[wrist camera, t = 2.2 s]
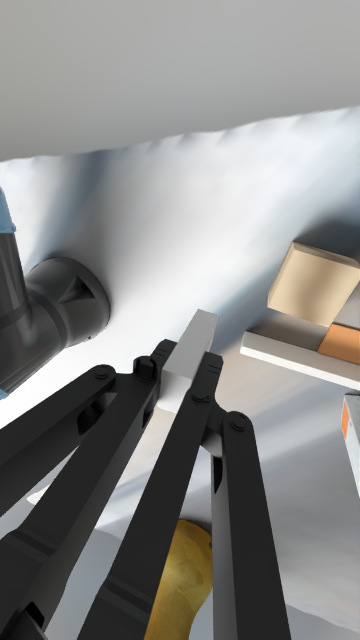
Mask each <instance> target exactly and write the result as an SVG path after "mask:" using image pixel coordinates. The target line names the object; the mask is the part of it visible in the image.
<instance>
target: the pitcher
mask: <svg viewBox="0 0 360 640" xmlns="http://www.w3.org/2000/svg"><path fill="white" fill-rule="evenodd" d="M211 541H212V536H211V535H210V534H209V533H208V532H207V531H205V530H204V529H202V528H201V527H200V526H198V525H196V524H194V523H191V522H188V521H187V520H183V519H181V520H178V522H177V526H176V529H175V533H174V536H173V540H172V543H171V547H170V550H169V553H168V557H167V560H166V564H165V567H164V571H163V574H162V578H161V581H160V584H159V588H158V591H157V595H156V598H155V602H154V605H153V609H152V613H151V616H150V620H149V624H148V627H147V631H146V634H145V638H144V640H189V634H190V630H191V626H192V623H193V620H194V618H195V616H196V614H197V612H198V610H199V609H200V607H201V606H202V605H203V603H204V602H205V600H206V599H207V597H208V595H209V594H210V592H211V590H212V587H213V564H212V550H211V548H210V546H209V543H211Z"/></svg>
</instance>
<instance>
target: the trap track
mask: <svg viewBox="0 0 360 640" xmlns="http://www.w3.org/2000/svg"><path fill="white" fill-rule="evenodd" d="M240 353H241V354H244V355H248V356H251V357H254V358H257V359H260V360H264V361H267V362H270V363H273V364H276V365H280V366H283V367H286V368H289V369H292V370H296V371H299V372H302V373H305V374H308V375H312V376H315V377H318V378H321V379H324V380H328V381H331V382H334V383H337V384H340V385H344V386H347V387H350V388H353V389H356V390H360V365H359V364H356V363H352V362H349V361H346V360H342V359H339V358H335V357H332V356H329V355H325V354H322V353H318V352H315V351H312V350H308V349H305V348H301V347H298V346H295V345H291V344H288V343H284V342H281V341H277V340H274V339H271V338H267V337H264V336H260V335H257V334H254V333H250V332H247V331H245V333H244V336H243V339H242V344H241V349H240Z"/></svg>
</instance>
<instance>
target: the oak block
mask: <svg viewBox="0 0 360 640" xmlns="http://www.w3.org/2000/svg"><path fill="white" fill-rule="evenodd" d="M359 281H360V264H359V263H358V262H357V261H356V260H355V259H353V258H349V257H346V256H342V255H339V254H336V253H332V252H329V251H325V250H322V249H318V248H315V247H312V246H308V245H305V244H301V243H298V242H294V241H292V243H291V245H290V247H289V249H288V251H287V254H286V256H285V258H284V260H283V262H282V264H281V267H280V269H279V271H278V273H277V275H276V278H275V280H274V282H273V284H272V286H271V288H270V291H269V293H268V306H267V307H269V308H272V309H275V310H278V311H280V312H283V313H286V314H289V315H292V316H295V317H298V318H301V319H304V320H307V321H310V322H313V323H316V324H319V325H322V326H325V327H327V328H328V327H329V326H330V324H331V323H332V321H333V320H334V318H335V317H336V315H337V314H338V312H339V311H340V309H341V308H342V306H343V305H344V303H345V302H346V300H347V299H348V297H349V296H350V294H351V293H352V291H353V290H354V288H355V287H356V285H357V284H358V282H359Z"/></svg>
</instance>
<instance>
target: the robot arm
mask: <svg viewBox="0 0 360 640" xmlns="http://www.w3.org/2000/svg"><path fill="white" fill-rule="evenodd" d="M15 231H16V227H15V225H14V224H13V222H12V220H11V216H10V213H9V209H8V205H7V201H6V198H5V194H4V192H3V190H2V188H1V187H0V400H1V399H5V398H7V397H8V395H9V394H10V393H12V392H13V391H14V390H15V389H16V388H18V387H19V386H20V385H21V384H22V383H24V382H25V381H26V380H27V379H28V378H30V377H31V376H32V375H33V374H34V373H36V372H37V371H38V370H39V369H40V368H42V367H43V366H44V365H45V364H46V363H48V362H49V361H50V360H51V359H52V358H53V357H55V356H56V355H57V354H58V353H59V352H61V351H62V350H63V349H65V348H68V347H71V346H74V345H76V344H79V343H81V342H85V341H88V340H90V339H92V338H94V337H95V336H97V335H98V334H99V333H100V332H101V331H102V330H103V329H104V328H105V327H106V325H107V323H108V320H109V315H110V307H109V302H108V298H107V295H106V293H105V291H104V289H103V287H102V285H101V284H100V282H99V281H98V280H97V278H96V277H95V276H94V275H93V274H92V273H91V272H90V271H89V270H88V269H87V268H86V267H84V266H83V265H81V264H80V263H78V262H76V261H74V260H71V259H68V258H63V257H56V258H51V259H48V260H46V261H43V262H40V263H39V264H37V265H36V266H34V267H33V268H32V270H31V271H30V272H29V273H28V274H27V275H26V276H23V271H22V266H21V262H20V257H19V252H18V248H17V243H16V239H15V234H14V232H15ZM218 317H219V315H217V314H213V313H210V312H206V311H203V310H199V309H198V310H197V312H196V313H195V315H194V317H193V318H192V320H191V322H190V323H189V325H188V327H187V328H186V330H185V332H184V333H183V335H182V337H181V338H180V340H179V342H178V343H177V342H174V341H171V340H168V339H165V340H163V341H161V342H160V343H159V344H158V345H157V347H156V349H155V350H154V351H153V353H152V354H151V355H150V356H140V357H137V358H136V359H135V360H134V361H133V373H131V374H122V373H116V371H115V369H114V368H113V367H112V366H110V365H105V364H101V365H97V366H95V367H93V368H91V369H90V370H88V371H87V372H85V373H84V374H82V375H81V376H79V377H78V378H76V379H75V380H73V381H72V382H70V383H69V384H67V385H66V386H64V387H63V388H61V389H60V390H58V391H57V392H55V393H54V394H52V395H51V396H49V397H48V398H46V399H45V400H43V401H42V402H40V403H39V404H37V405H36V406H34V407H33V408H31V409H30V410H28V411H27V412H25V413H24V414H22V415H21V416H19V417H18V418H16V419H15V420H13V421H12V422H10V423H9V424H7V425H6V426H4V427H3V428H1V429H0V517H1V516H2V515H4V513H6V511H8V510H9V509H10V508H11V507H12V506H13V505H14V504H15V503H16V502H18V501H19V500H20V499H21V498H22V497H23V496H24V495H25V494H26V493H27V492H28V491H30V490H31V489H32V488H33V487H34V486H35V485H36V484H37V483H38V482H39V481H41V480H42V479H43V478H44V477H45V476H46V475H47V474H48V473H49V472H50V471H51V470H53V469H54V468H55V467H56V466H57V465H58V464H59V463H60V462H61V461H62V460H63V459H65V458H66V457H67V456H68V455H69V454H70V453H71V452H72V451H73V450H74V449H75V448H76V447H78V446H79V447H78V448H77V449H76V451H75V452H74V454H73V455H72V456H71V458H70V459H69V460H68V462H67V463H66V465H65V466H64V467H63V469H62V470H61V471H60V473H59V474H58V475H57V477H56V478H55V479H54V481H53V482H52V484H51V485H50V486H49V488H48V489H47V490H46V492H45V493H44V494H43V496H42V497H41V499H40V500H39V501H38V503H37V504H36V505H35V507H34V508H33V510H32V511H31V512H30V513H29V515H28V516H27V518H26V519H25V520H24V521H23V523H22V524H21V525H20V526H19V527H18V528H17V529H15V530H13V531H11V532H9V533H8V534H6V535H5V536H4V537H3V538H2V539H1V540H0V640H48V639H47V638H46V636H45V634H44V632H45V630H46V628H47V626H48V624H49V622H50V620H51V618H52V616H53V614H54V612H55V610H56V608H57V606H58V604H59V602H60V600H61V598H62V595H63V593H64V590H65V587H66V583H67V580H68V578H69V576H70V574H71V571H72V569H73V567H74V566H75V564H76V562H77V560H78V558H79V556H80V554H81V552H82V550H83V548H84V546H85V544H86V542H87V541H88V539H89V537H90V535H91V533H92V531H93V529H94V527H95V525H96V523H97V521H98V519H99V517H100V516H101V514H102V512H103V510H104V508H105V506H106V504H107V502H108V500H109V498H110V496H111V494H112V492H113V490H114V489H115V487H116V485H117V483H118V481H119V479H120V477H121V475H122V473H123V471H124V469H125V467H126V465H127V464H128V462H129V460H130V458H131V456H132V454H133V452H134V450H135V448H136V446H137V444H138V442H139V440H140V438H141V437H142V435H143V433H144V431H145V429H146V427H147V425H148V423H149V421H150V419H151V417H152V415H153V412H154V407H155V405H156V403H157V407H159V408H162V409H164V410H167V411H170V412H172V413H175V414H177V415H176V417H175V419H174V422H173V424H172V426H171V429H170V431H169V433H168V436H167V438H166V440H165V443H164V445H163V447H162V450H161V452H160V454H159V457H158V459H157V461H156V464H155V466H154V468H153V471H152V473H151V475H150V478H149V480H148V482H147V485H146V487H145V489H144V492H143V494H142V497H141V499H140V501H139V504H138V506H137V508H136V511H135V513H134V515H133V518H132V520H131V522H130V525H129V527H128V529H127V532H126V534H125V536H124V539H123V541H122V543H121V546H120V548H119V550H118V553H117V555H116V558H115V560H114V562H113V564H112V567H111V569H110V571H109V573H108V575H107V578H106V579H105V581H104V582H103V584H102V585H101V587H100V589H99V591H98V593H97V595H96V597H95V599H94V602H93V604H92V606H91V608H90V610H89V612H88V615H87V617H86V620H85V622H84V624H83V626H82V629H81V631H80V633H79V635H78V638H77V640H144V638H145V634H146V631H147V627H148V624H149V620H150V616H151V613H152V609H153V605H154V602H155V598H156V595H157V591H158V588H159V584H160V581H161V578H162V574H163V571H164V567H165V564H166V560H167V557H168V553H169V550H170V547H171V543H172V540H173V536H174V533H175V529H176V526H177V522H178V519H179V516H180V512H181V509H182V505H183V502H184V498H185V495H186V491H187V488H188V485H189V481H190V478H191V474H192V471H193V467H194V464H195V460H196V457H197V454H198V450H199V447H200V445H201V446H202V447H204V448H205V449H206V450H207V451H208V452H210V453H211V499H212V564H213V621H214V622H213V630H214V640H291V635H290V629H289V624H288V618H287V613H286V607H285V601H284V596H283V590H282V585H281V579H280V573H279V568H278V562H277V557H276V551H275V546H274V540H273V535H272V529H271V523H270V518H269V512H268V507H267V501H266V496H265V490H264V484H263V479H262V473H261V468H260V462H259V457H258V451H257V445H256V440H255V434H254V429H253V425H252V422H251V420H250V419H249V418H248V417H247V416H246V415H244V414H243V413H240V412H237V411H231V412H226V411H225V410H224V409H222V408H221V407H220V406H219V405H218V404H217V402H216V400H215V391H216V387H217V384H218V380H219V377H220V373H221V370H222V366H223V359H222V356H219V355H216V354H213V353H210V352H209V350H210V347H211V344H212V340H213V336H214V332H215V329H216V325H217V321H218ZM157 401H158V402H157Z"/></svg>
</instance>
